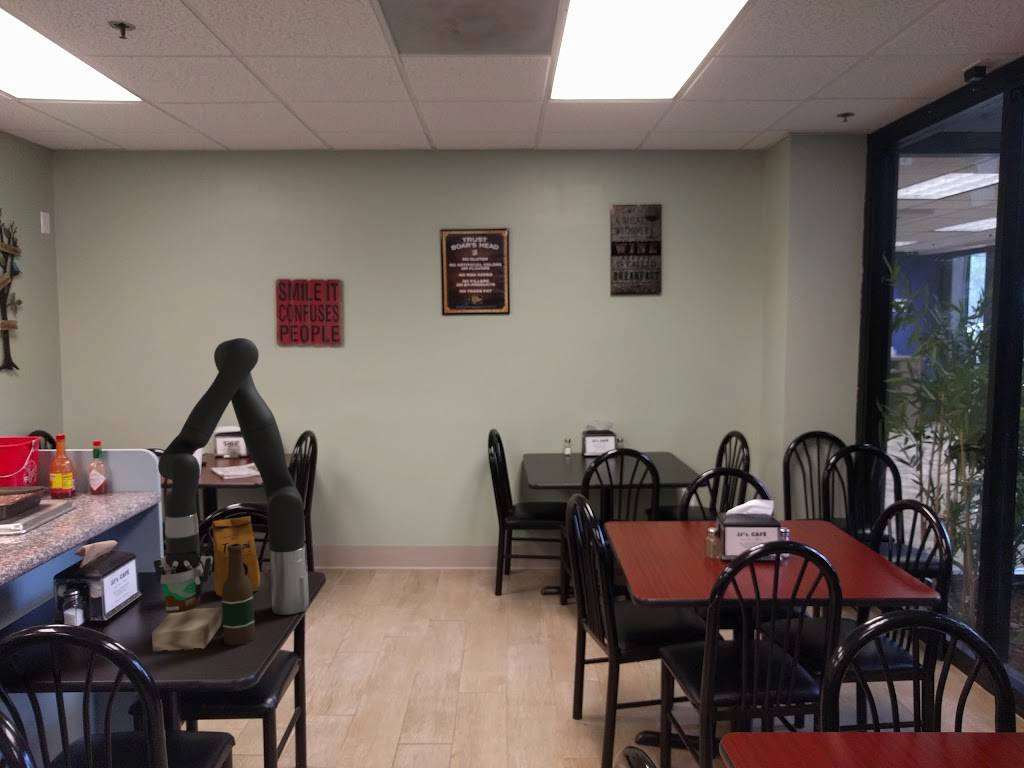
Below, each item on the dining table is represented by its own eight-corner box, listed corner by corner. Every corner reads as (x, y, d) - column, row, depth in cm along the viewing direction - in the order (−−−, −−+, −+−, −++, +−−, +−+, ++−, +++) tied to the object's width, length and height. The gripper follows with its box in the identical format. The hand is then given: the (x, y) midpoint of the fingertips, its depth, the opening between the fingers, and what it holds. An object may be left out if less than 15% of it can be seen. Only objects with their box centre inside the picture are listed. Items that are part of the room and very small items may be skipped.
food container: (185, 616, 178) (182, 576, 178) (162, 615, 180) (159, 575, 179) (215, 597, 190) (213, 559, 190) (194, 596, 192) (191, 558, 191)
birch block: (221, 626, 193) (220, 607, 193) (204, 649, 179) (203, 629, 179) (173, 628, 192) (172, 610, 192) (153, 652, 178) (151, 632, 178)
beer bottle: (230, 632, 188) (225, 540, 186) (261, 632, 188) (256, 540, 185) (217, 646, 180) (212, 550, 178) (249, 646, 180) (244, 549, 178)
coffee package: (261, 593, 215) (257, 519, 213) (215, 601, 210) (211, 524, 208) (258, 582, 224) (254, 511, 222) (214, 589, 219) (209, 516, 217)
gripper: (216, 526, 188) (220, 591, 189) (157, 529, 186) (161, 594, 188) (207, 535, 180) (211, 602, 182) (146, 537, 179) (150, 605, 180)
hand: (185, 598), depth 185 cm, fingers closed on food container, 5 cm apart
